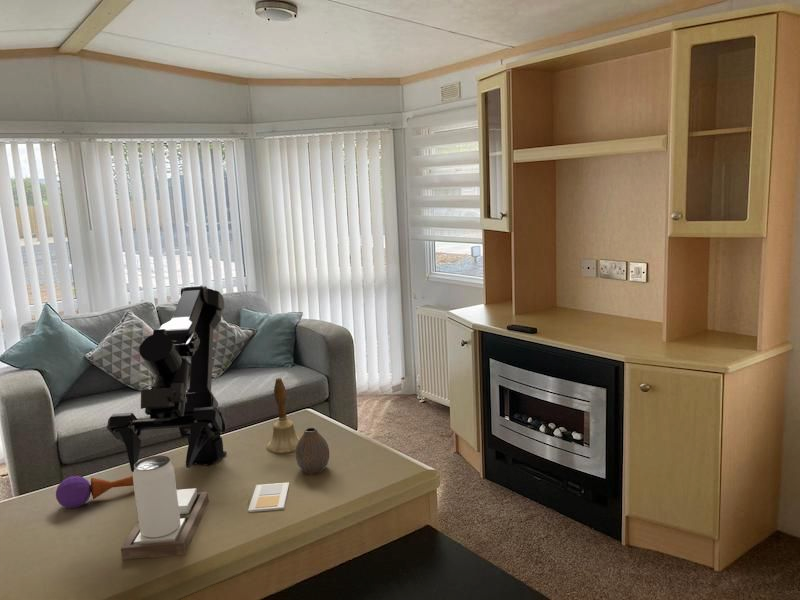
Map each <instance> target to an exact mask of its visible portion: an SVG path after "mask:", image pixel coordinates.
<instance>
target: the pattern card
mask: <svg viewBox="0 0 800 600" xmlns="http://www.w3.org/2000/svg"><path fill="white" fill-rule="evenodd" d="M289 488H290V482H289V481H288V482H278V483H266V484H264V483H263V484H256V485H255V487H254V491H253V494H252V498H251V501H250V504H249V507H248V510H247V512H248V513H254V512H267V511H268V512H269V511H277V510H278V511H281V510H284V509H285V506H286V501H287V497H288V491H289Z"/></svg>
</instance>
